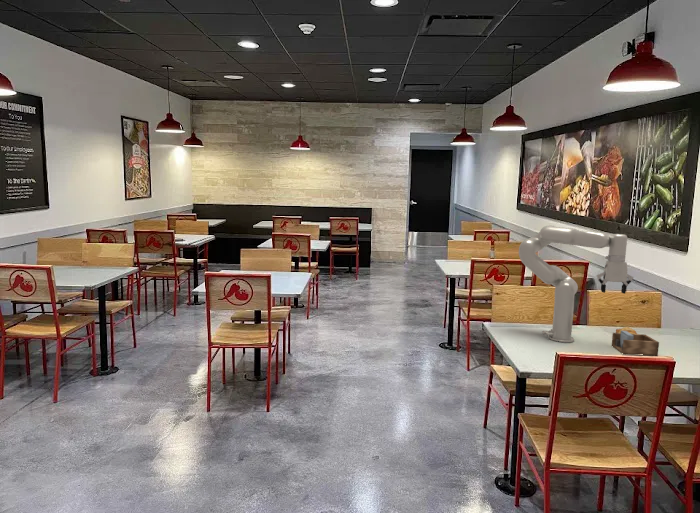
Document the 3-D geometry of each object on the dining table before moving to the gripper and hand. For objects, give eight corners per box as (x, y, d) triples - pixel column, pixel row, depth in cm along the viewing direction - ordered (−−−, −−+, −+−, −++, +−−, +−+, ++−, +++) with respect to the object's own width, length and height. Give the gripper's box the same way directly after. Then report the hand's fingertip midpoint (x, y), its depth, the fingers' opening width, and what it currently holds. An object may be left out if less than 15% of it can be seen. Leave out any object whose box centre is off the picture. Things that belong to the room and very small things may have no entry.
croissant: (643, 352, 270) (651, 339, 269) (627, 342, 269) (636, 329, 268) (620, 339, 291) (628, 327, 290) (605, 331, 290) (613, 319, 289)
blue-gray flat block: (626, 351, 255) (628, 335, 254) (618, 345, 263) (620, 330, 262) (632, 351, 254) (633, 335, 253) (624, 346, 263) (625, 330, 262)
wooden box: (623, 354, 252) (624, 340, 252) (611, 345, 266) (612, 332, 265) (657, 356, 251) (659, 342, 250) (643, 347, 265) (645, 334, 264)
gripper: (601, 259, 255) (598, 293, 257) (638, 260, 253) (634, 295, 256) (595, 257, 262) (592, 290, 265) (631, 258, 261) (627, 292, 263)
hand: (613, 292), depth 260 cm, fingers open, 9 cm apart
